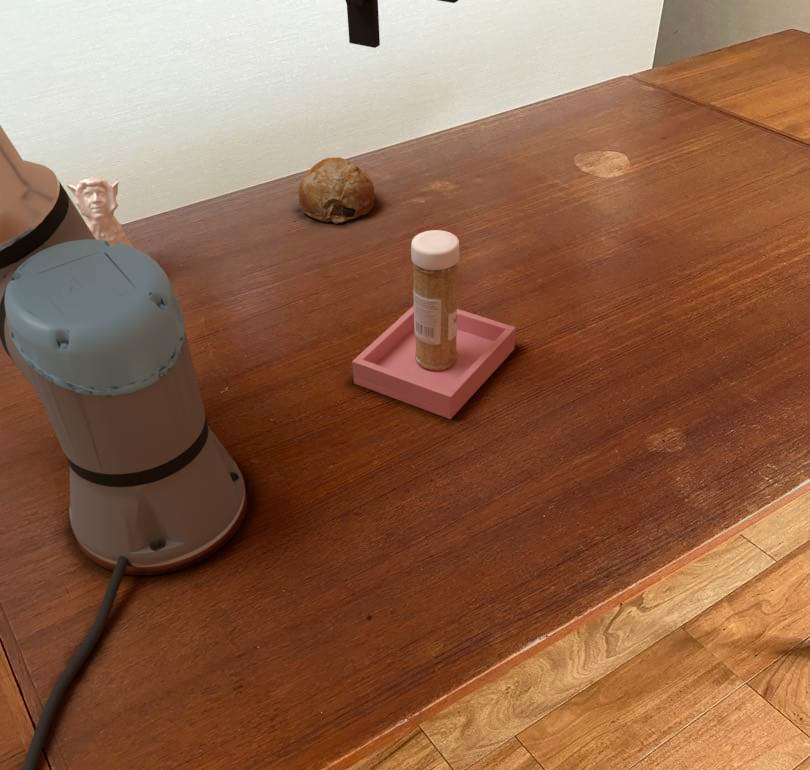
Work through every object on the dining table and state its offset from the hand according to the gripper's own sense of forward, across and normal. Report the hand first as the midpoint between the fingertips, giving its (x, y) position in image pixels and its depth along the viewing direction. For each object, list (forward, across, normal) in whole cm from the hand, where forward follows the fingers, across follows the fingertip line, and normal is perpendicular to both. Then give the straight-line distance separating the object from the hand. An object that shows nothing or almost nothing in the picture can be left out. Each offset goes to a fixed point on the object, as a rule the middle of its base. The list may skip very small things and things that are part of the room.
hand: (406, 21), depth 79 cm
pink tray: (+29, +10, +9) cm, 32 cm away
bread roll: (+29, -14, -21) cm, 38 cm away
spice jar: (+28, +10, +9) cm, 31 cm away
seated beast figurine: (+29, +14, -34) cm, 47 cm away
